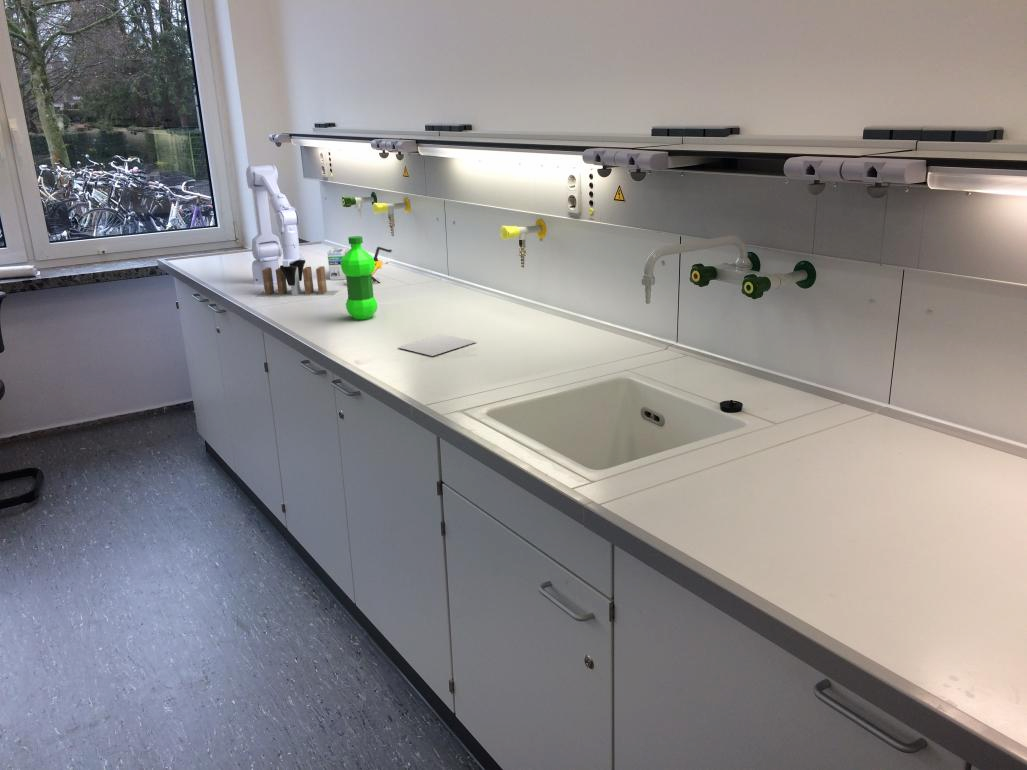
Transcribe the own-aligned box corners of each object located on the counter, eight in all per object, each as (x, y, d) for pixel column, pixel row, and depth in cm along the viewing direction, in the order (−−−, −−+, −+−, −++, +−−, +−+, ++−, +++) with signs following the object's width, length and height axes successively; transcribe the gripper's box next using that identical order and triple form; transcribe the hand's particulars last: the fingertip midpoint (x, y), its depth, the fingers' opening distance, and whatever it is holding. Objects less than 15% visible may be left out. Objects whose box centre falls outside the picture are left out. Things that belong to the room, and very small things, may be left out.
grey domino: (300, 292, 300) (297, 266, 297) (296, 294, 295) (293, 269, 292) (296, 292, 300) (293, 267, 297) (292, 295, 295) (289, 269, 293)
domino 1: (265, 295, 296) (262, 270, 293) (270, 292, 301) (266, 267, 298) (269, 295, 296) (266, 270, 293) (274, 292, 301) (271, 267, 298)
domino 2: (278, 295, 296) (275, 269, 293) (283, 292, 300) (280, 267, 298) (283, 295, 296) (279, 269, 293) (287, 292, 300) (284, 267, 297)
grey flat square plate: (502, 349, 225) (502, 347, 224) (434, 373, 207) (434, 370, 207) (442, 336, 240) (441, 333, 239) (373, 356, 222) (373, 354, 222)
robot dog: (397, 282, 313) (394, 246, 309) (351, 288, 305) (347, 251, 300) (391, 279, 318) (388, 244, 313) (346, 286, 309) (342, 249, 305)
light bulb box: (347, 279, 320) (344, 251, 317) (329, 280, 320) (326, 252, 317) (351, 274, 331) (348, 246, 327) (334, 275, 330) (331, 247, 327)
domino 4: (318, 294, 295) (315, 269, 292) (322, 291, 299) (319, 266, 296) (323, 294, 295) (320, 269, 292) (327, 291, 299) (324, 266, 296)
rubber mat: (255, 297, 295) (255, 296, 295) (262, 292, 302) (262, 291, 302) (333, 296, 293) (333, 295, 293) (339, 291, 300) (339, 290, 300)
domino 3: (305, 294, 295) (302, 269, 292) (309, 291, 300) (306, 266, 297) (309, 294, 295) (306, 269, 292) (313, 291, 300) (311, 266, 297)
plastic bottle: (347, 323, 256) (339, 240, 248) (345, 315, 266) (337, 235, 258) (380, 319, 259) (373, 238, 251) (376, 312, 268) (370, 233, 260)
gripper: (295, 247, 285) (299, 287, 289) (308, 240, 299) (312, 278, 303) (274, 248, 286) (279, 287, 290) (288, 241, 299) (293, 279, 304)
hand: (295, 283), depth 297 cm, fingers open, 7 cm apart
